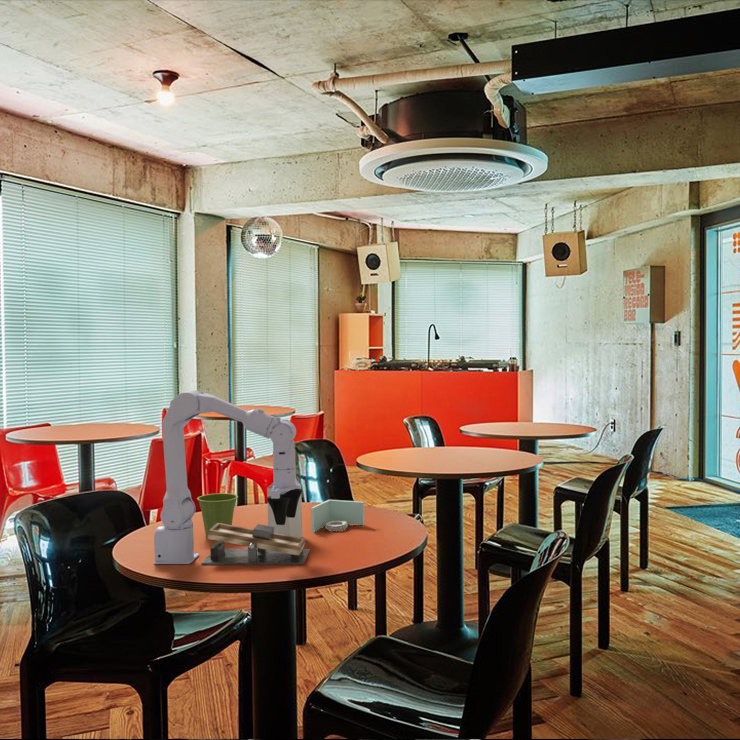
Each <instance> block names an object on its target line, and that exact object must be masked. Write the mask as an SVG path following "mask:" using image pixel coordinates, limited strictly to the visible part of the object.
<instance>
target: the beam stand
mask: <svg viewBox="0 0 740 740" xmlns="http://www.w3.org/2000/svg"><path fill="white" fill-rule="evenodd" d="M225 543H226V542H223V541H216V542H215V543H214V544H213V545H212V546H211V547H210V551H209V552H210V553H209V554H208V555H207V557H206V558H205V559H203V560H202V561H201V562H200V564H201V566H203V565H204V564H205V565H206V566H208V565H209V566H224V565H225V566H236V565H238V566H240V565H241V566H244V565H245V566H247V565H248V566H252V565H253V566H254V565H255V566H256V565H258V566H261V565H263V566H264V565H265V566H266V565H267V566H273V565H274V566H275V565H276V566H280V565H283V566H284V565H285V566H287V565H288V566H290V565H291V566H292V565H293V566H296V565H298V566H299V565H302V566H303V565H304V564H305V562H306V560H307V558H308V556H309V554H310V552H311V548H303V550H302V551H301V553H300V555H293V554H288V553H282V552H277V551H271V550H266V549H261V548H257V543H249V544H248V546H247V548H245V549H244V548H241V549H238V548H234V549H232V548H231V549H227V548H225V547H226V546H225ZM205 565H204V566H205Z"/></svg>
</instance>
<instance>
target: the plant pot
mask: <svg viewBox="0 0 740 740" xmlns="http://www.w3.org/2000/svg"><path fill="white" fill-rule="evenodd" d="M238 498H239V496H238V495H237V494H234V493H225V492H224V493H222V492H220V493H209V494H203V495H201V496H198V497H197V498H196V499H197V501H198V504H199V508H200V510H201V517H202V523H203V527H204V533H205V536H206V537H208V532H209V530H210V529H211V528H212V527H213V526H214V525H215V524H217V523H222V524H227V525H233V518H234V514H235V512H234V511H235V507H236V503H237V499H238Z"/></svg>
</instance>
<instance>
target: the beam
mask: <svg viewBox="0 0 740 740" xmlns="http://www.w3.org/2000/svg"><path fill="white" fill-rule="evenodd" d="M253 530H254V528H248V527H243V526H237V525H233V524H232V525H227V524H222V523H217V524H215V525H214V526H213V527H212V528H211V529H210V530H209V532H208V536H206V537H207V539H208V540H212V541H213V540H214V541H216V542H224V543H230V544H235V545H241V546H245V547H248V544H249V543H257V548H261V549H266V550H271V551H277V552H282V553H288V554H293V555H300V553H301V551H302V550H303V549H305V548H304V547H305V543H306V538H303V537H301V538H298V537H293V536H287V535H282V534H276V533H274V535H273V539H272V540H266V539H260V538H255V537H252V536H253Z"/></svg>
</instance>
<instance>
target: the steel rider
mask: <svg viewBox="0 0 740 740" xmlns="http://www.w3.org/2000/svg"><path fill="white" fill-rule="evenodd" d="M274 528H275V527H272V526H268V525H266V524H265V525H264V524H260V523H258V524H256V526H255V527H254V528H253V529H254V530H253V536H252V537H255V538H260V539H266V540H272V539H273V535H274Z"/></svg>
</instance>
